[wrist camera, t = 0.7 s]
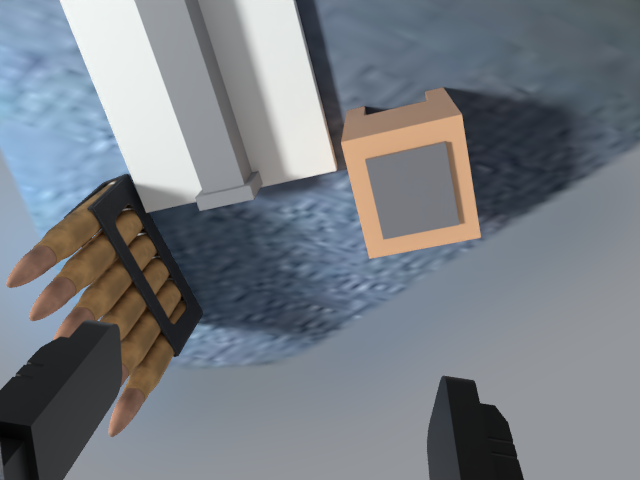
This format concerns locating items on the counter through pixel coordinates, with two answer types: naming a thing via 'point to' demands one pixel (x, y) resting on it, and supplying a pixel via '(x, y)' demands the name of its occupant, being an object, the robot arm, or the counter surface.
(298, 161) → the rail board
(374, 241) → the block
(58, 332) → the ammunition clip
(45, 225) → the counter surface
